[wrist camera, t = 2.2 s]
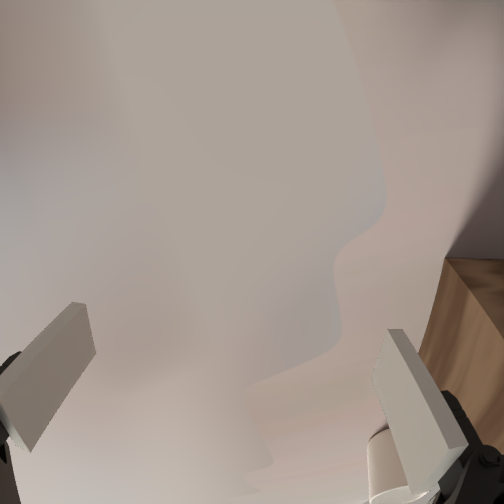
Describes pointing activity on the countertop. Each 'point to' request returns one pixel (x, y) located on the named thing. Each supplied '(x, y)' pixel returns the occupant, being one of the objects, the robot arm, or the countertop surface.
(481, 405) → the post
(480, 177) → the countertop surface
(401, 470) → the mug
